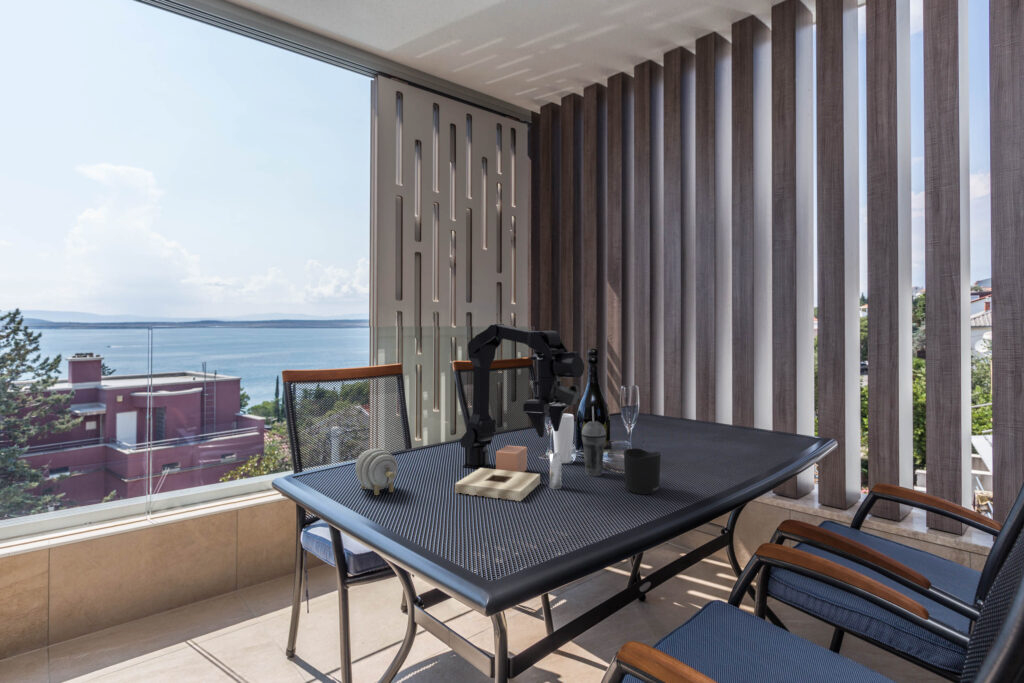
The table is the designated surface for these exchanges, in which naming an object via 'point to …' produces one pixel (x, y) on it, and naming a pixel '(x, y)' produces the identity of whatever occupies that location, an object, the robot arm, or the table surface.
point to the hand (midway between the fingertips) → (548, 434)
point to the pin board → (498, 484)
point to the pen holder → (642, 471)
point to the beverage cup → (593, 446)
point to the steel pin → (555, 470)
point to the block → (512, 458)
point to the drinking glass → (564, 437)
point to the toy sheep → (376, 470)
